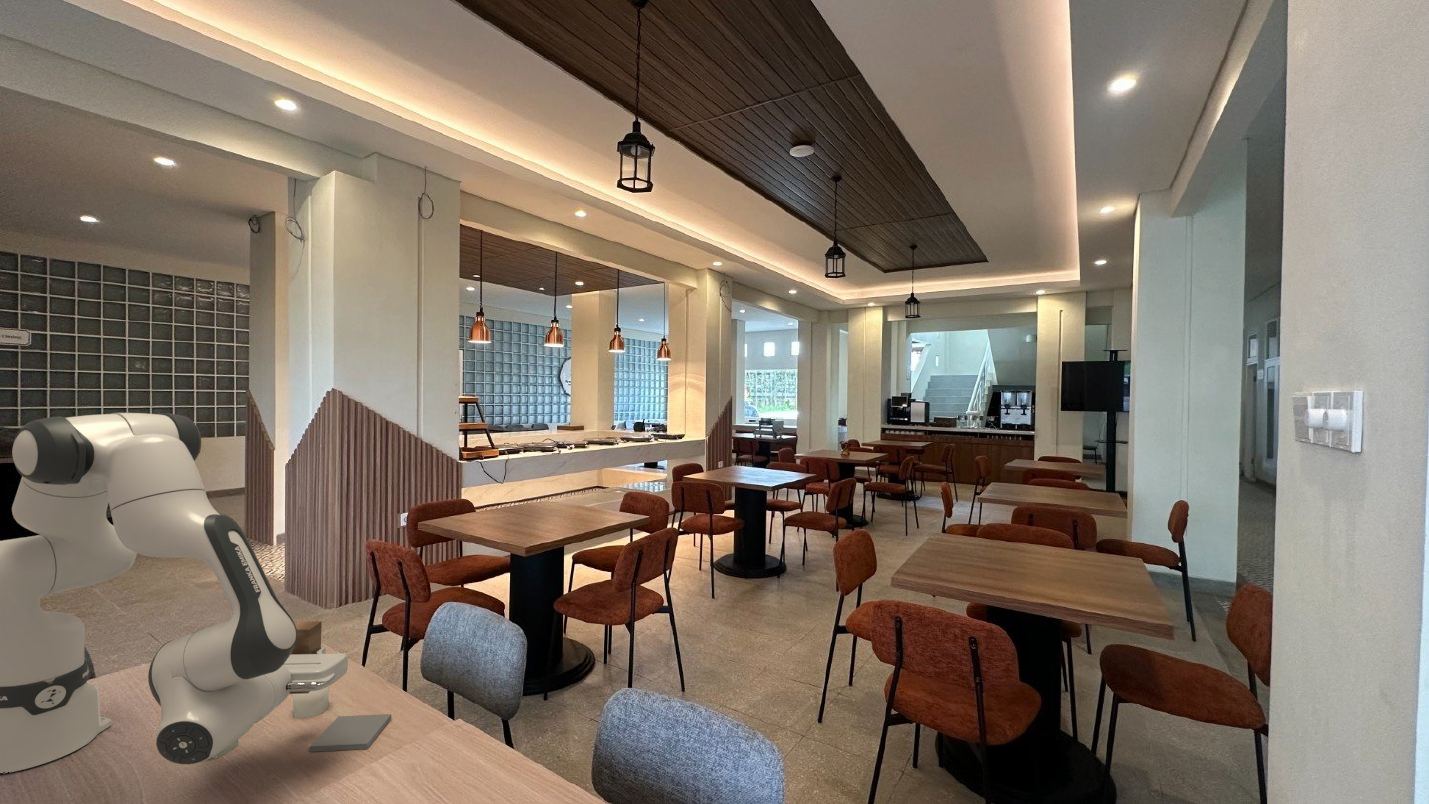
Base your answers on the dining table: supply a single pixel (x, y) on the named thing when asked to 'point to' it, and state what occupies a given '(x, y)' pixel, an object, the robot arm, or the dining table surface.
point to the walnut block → (307, 640)
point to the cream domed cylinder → (310, 703)
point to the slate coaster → (351, 733)
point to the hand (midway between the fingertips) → (306, 652)
